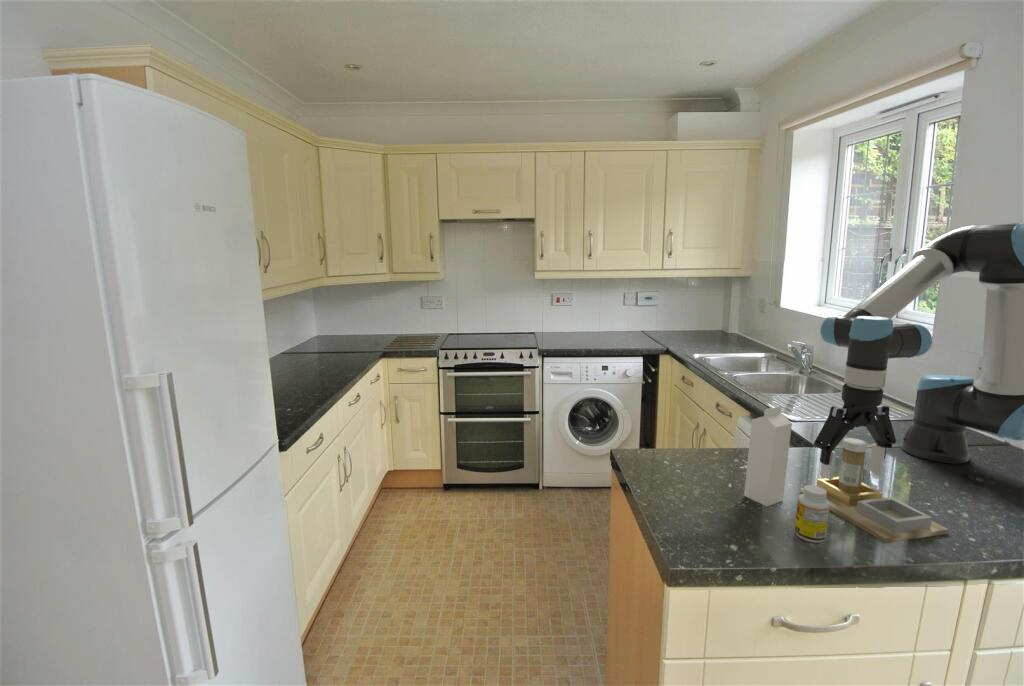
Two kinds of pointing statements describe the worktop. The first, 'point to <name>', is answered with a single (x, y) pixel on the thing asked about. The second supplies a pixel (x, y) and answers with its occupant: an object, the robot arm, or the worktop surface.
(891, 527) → the grey socket collar
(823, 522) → the supplement bottle
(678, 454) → the worktop surface
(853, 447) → the sprinkles bottle
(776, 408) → the milk
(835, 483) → the brass socket collar
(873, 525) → the birch socket board
